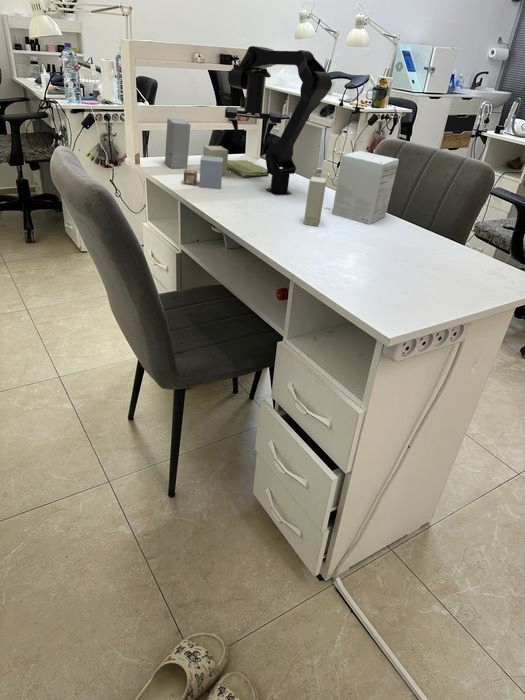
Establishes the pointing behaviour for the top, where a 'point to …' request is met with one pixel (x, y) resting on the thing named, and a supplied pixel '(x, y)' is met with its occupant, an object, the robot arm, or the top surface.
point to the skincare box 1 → (177, 143)
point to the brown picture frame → (190, 177)
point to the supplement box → (364, 186)
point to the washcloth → (245, 168)
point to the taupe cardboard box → (217, 155)
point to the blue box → (211, 172)
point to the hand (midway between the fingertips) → (250, 142)
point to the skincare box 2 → (314, 201)
